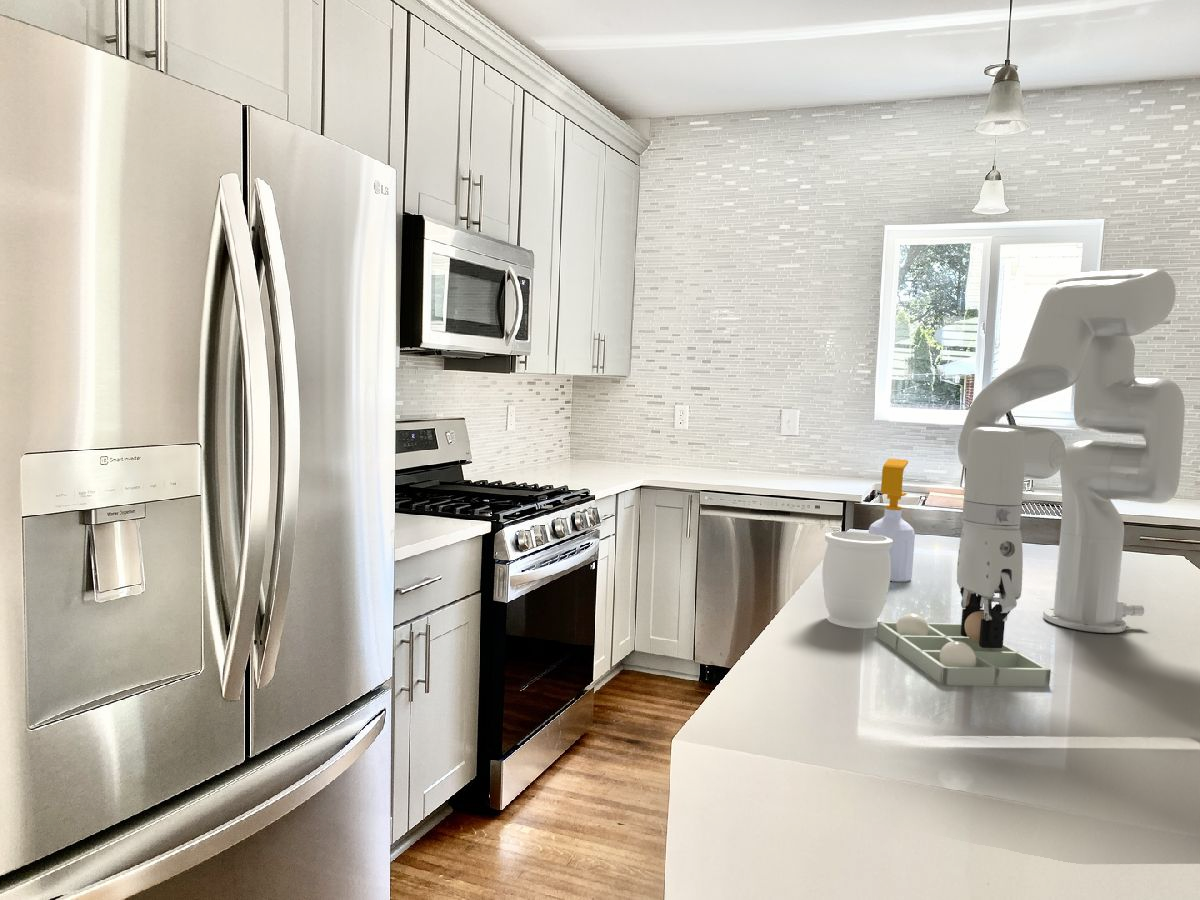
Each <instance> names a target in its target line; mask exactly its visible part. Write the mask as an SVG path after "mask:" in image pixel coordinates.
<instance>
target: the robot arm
mask: <svg viewBox="0 0 1200 900" xmlns="http://www.w3.org/2000/svg"><path fill="white" fill-rule="evenodd" d="M1176 293H1177V290H1176V285H1175V282H1174V279H1173V278H1172V275H1170V274H1169V273H1168V272H1166V271H1165V270H1163V269H1159V268H1153V269H1152V268H1150V269H1147V268H1146V269H1130V270H1129V269H1127V270H1103V271H1089V272H1088V271H1087V272H1079V273H1074V274H1070V275H1067V276H1063V277H1062V278H1060V279H1059V280H1058V281H1056V283H1055V285H1054V286H1052V287H1051V288H1050V289H1049V290H1047V291H1046V293H1045V294H1044V295H1043V296H1042V300H1041V302H1040V304H1039V307H1038V310H1037V313H1036V316H1035V319H1034V321H1033V324H1032V325H1031V330H1030V332H1029V334H1028V337H1027V340H1026V343H1025V345H1024V349H1023V351H1022V354H1021V357H1020V359H1019V361H1018V362H1017V363H1016V364H1014V365H1013V366H1011V367H1010V368H1008V369H1006V370H1005V371H1004V372H1002V373H1001V374H1000V375H999V376H997V377H996V378H994V379H993V380H992V381H991V382H990V383H988V385H986V386H985V387H984V388H983V389H982V390H981V391H980V392H979V393H978V394H977V396H976V397H975V398H974V400H973V401H972V403H971V405H970V407H969V410H968V412H967V415H966V417H965V421H964V423H963V426H962V429H961V431H960V435H959V440H958V444H957V445H958V446H957V453H958V460H959V461H960V463H961V465H963V467H964V468H965V481H964V493H963V504H962V517H961V524H963V525H962V530H961V534H960V540H959V547H958V553H957V563H956V564H957V565H956V583H957V585H958V587H959V590H960V591H959V593H960V595H961V602H960V604H961V608H962V611H961V621H960V622H961V623H960V624H961V635H962V636H963V637H968V636H967V634H966V632H965V621H966V619H967V617H968V616H969V615H970V614H972V613H973V612H976V611H984V618H985V619H981V626H980V638H979V646H980V647H982V648H1002V647H1003V643H1004V637H1005V627H1006V626H1005V623H1006V622H1007V621H1008V616H1009V614H1010V612H1011V611H1013V610H1014V609H1015V608H1016V607H1017V605H1018V604H1017V603H1018V602H1017V600H1019V599H1020V598H1021V596H1022V589H1023V563H1024V561H1023V560H1024V559H1023V555H1024V554H1023V552H1024V551H1023V539H1022V531H1021V529H1020V528H1021V521H1022V519H1021V517H1022V506H1023V505H1022V504H1023V496H1024V494H1023V493H1024V485H1025V484H1024V481H1025V479H1029V480H1045V479H1048V478H1051V477H1053V476H1054V475H1057V473H1058V472H1059V475H1060V485H1061V500H1062V501H1061V502H1062V503H1061V521H1060V532H1059V533H1060V534H1059V546H1058V556H1057V569H1056V579H1055V591H1054V604H1053V607H1050V608H1047V609H1044V610H1043V615H1042V617H1043V619H1044V620H1046V621H1047V622H1048V623H1051V624H1054V625H1056V626H1060V627H1063V628H1067V629H1071V630H1077V631H1082V632H1089V633H1101V634H1117V633H1122V632H1124V631H1126V629H1127V623H1126V621H1125V620H1124V619H1123V618H1125V617H1127V616H1133V617H1135V616H1137V617H1142V616H1143V615H1144V614H1145V608H1144V605H1142V604H1127V603H1125V602H1124V601H1122V600H1119V591H1120V583H1121V582H1120V581H1121V580H1120V579H1121V571H1122V570H1121V569H1122V559H1123V558H1122V557H1123V547H1124V539H1125V524H1124V520H1123V518H1122V515H1121V514H1120V512H1119V510H1118V509H1117V508H1116V505H1114V503H1113V502H1112V500H1116V501H1117V500H1118V501H1119V500H1120V501H1128V502H1136V503H1147V504H1163V503H1164V504H1165V503H1167V502H1169V501H1171V500H1172V499H1173V498H1174V497H1175V495H1176V494H1177V491H1178V488H1179V484H1180V480H1181V479H1180V477H1181V469H1182V468H1181V466H1182V455H1183V454H1182V453H1183V440H1184V427H1185V415H1186V414H1185V411H1186V408H1185V406H1186V405H1185V404H1186V403H1185V397H1184V394H1183V391H1182V389H1181V387H1180V386H1179V385H1178V383H1176V382H1174V381H1172V380H1169V379H1165V378H1156V377H1136V376H1135V358H1136V357H1135V354H1136V348H1135V344H1134V342H1133V340H1132V338H1131V337H1133V336H1138V335H1141V334H1143V333H1145V332H1147V331H1149V330H1151V329H1152V328H1154V327H1156V326H1158V325H1160V324H1161V323H1163V322H1164V321H1165V320H1166V319H1167V317H1168V316H1169V315H1170V314H1171V312H1172V310H1173V307H1174V306H1175V302H1176ZM1073 385H1074V393H1073V394H1074V397H1073V417H1074V420H1075V421H1074V422H1075V424H1076V426H1078V428H1080V429H1082V430H1083V431H1087V432H1092V433H1099V434H1100V433H1101V434H1111V435H1122V436H1123V435H1125V436H1136V437H1142V438H1143V439H1144V441H1145V444H1142V443H1130V442H1128V443H1127V442H1121V441H1120V442H1119V441H1118V442H1117V441H1108V440H1081V441H1075V442H1073V443H1071V444H1070V445H1068V446H1067V447H1066V445H1065V443H1064V440H1063V439H1062V437H1061V436H1060V434H1059V433H1057V432H1056V431H1053V430H1051V429H1048V428H1044V427H1040V426H1039V427H1038V426H1027V425H1026V426H1025V425H1024V426H1023V425H1016V424H1015V425H1014V424H1001V423H1000V424H999V423H998V422H999V421H1000V420H1001V418H1002V419H1003V417H1004V416H1005V415H1006V414H1008V413H1009V412H1010V411H1011V410H1013V409H1015V408H1017V407H1019V406H1021V405H1024V404H1026V403H1028V402H1032V401H1035V400H1037V399H1040V398H1044V397H1048V396H1049V395H1052V394H1055V393H1058V392H1061V391H1063V390H1066V389H1068V388H1070V387H1071V386H1073ZM995 594H999V597H996V596H995ZM992 603H996V604H994V606H993V607H992V605H993V604H992Z"/></svg>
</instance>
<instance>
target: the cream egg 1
mask: <svg viewBox="0 0 1200 900" xmlns="http://www.w3.org/2000/svg"><path fill="white" fill-rule="evenodd" d="M927 623H928V622H927V620H926V619H925V618H924V616H922V615H920V614H917V613H915V612H914V613H913V612H911V613H910V612H908V613H905V614H903V615H901V616H900V618H899V619H898V620H897V625H896V631H897V633H898V634H900V635H911V636H928V632H929V627H928V624H927Z"/></svg>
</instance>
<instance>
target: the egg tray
mask: <svg viewBox="0 0 1200 900" xmlns="http://www.w3.org/2000/svg"><path fill="white" fill-rule="evenodd" d="M877 622H878V626H877V627H876V628H877V629H876V637H877V638H878V639H880V640H881V641H883V642H884V643H885V644H886V645H888V646H889V647H891V648H892V649H893V650H894V651H896V652H897V653H898V654H900V655H901V656H902V657H904V658H905V659H906V660H908V661H909V662H911V664H914V665H915V666H916V667H917V668H919V669H920V670H922V672H924V673H926V674H927V675H928V676H929V677H931V678H932V679H934V680H935V681H936V682H938V683H939V684H941V686H979V687H981V686H985V687H987V686H989V687H1048V688H1049V687H1050V682H1051V673H1052V672H1051V670H1052V669H1050V668H1048V667H1046V666H1045V665H1043V664H1041V663H1039V662H1038V661H1036V660H1034V659H1033V658H1030V657H1029V656H1027V655H1025V654H1023V653H1021V652H1019V650H1016V649H1015V648H1013V647H1011V646H1009V645H1007V644H1006V643H1004V642H1003V647H1002V648H982V647H980V646H979V643H976V642H974V641H972V640H971V639H970V638H969V637H963V636H962V635H961V623H949V622H947V623H946V622H945V623H944V622H942V623H941V622H927V624H928V627H929V632H928V636H911V635H900V634H898V633H897V631H896V625H897V622H898V621H897V622H895V621H892V622H891V621H877ZM952 641H961V642H964V643H966V644H967V645H969V646H970V647H971V648H972V649H973V651H974V653H975V655H976V665H975V667H946V666H944V665H943V664H941V663H940V660H939V654H940V651H941V649H942V647H943V646H944V645H945V644H947V643H949V642H952Z"/></svg>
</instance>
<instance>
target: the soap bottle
mask: <svg viewBox="0 0 1200 900" xmlns="http://www.w3.org/2000/svg"><path fill="white" fill-rule="evenodd" d="M908 464H909V460H908V459H899V458H898V459H897V458H888V459H887V460H886V461H885V463H884V464H883V466H882V469H881V470H882V471H881V483H880V484H881V485H880V494H882V495H887V497H886V498H887V499H888V500H889V503H888V504H889V505H884V514H883V517H881V518H880V519H877V520H875V521H874V522H873V523H871V524H870V525H869V527H868V533H869V534H875V535H880V536H884V537H888V538H891V539H892V540H893V545H892V546H891V547H890V548H889V550H888V551H889V555H890V563H891V577H890V581H892V583H904V582H909V581H911V580H912V579H913V565H914V554H915V553H914V552H915V539H916V533H915V529H914V528H913V526H912V525H911V524H910V523H908V522H907V521H905V520H904V519H903V518H902V512H903V511H902V510H903V507H902V506H901V505H900V506H899V500H900V501H901V500H902V497H904V496H907V494H908V493H907V492H903V478H904V472H905V471H904V470H905V468H906V467H907V465H908Z"/></svg>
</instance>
